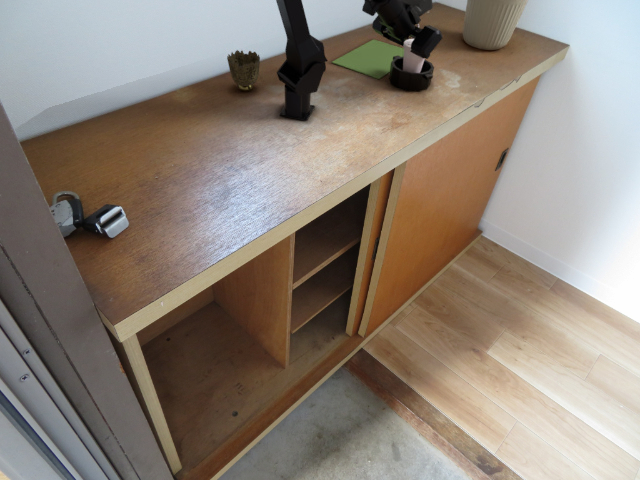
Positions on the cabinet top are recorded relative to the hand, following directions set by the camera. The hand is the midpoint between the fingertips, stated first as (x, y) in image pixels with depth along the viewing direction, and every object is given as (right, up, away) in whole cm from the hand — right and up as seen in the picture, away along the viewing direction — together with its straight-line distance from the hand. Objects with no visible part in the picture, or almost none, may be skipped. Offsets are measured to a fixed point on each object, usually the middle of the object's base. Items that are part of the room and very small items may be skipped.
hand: (419, 52), depth 108 cm
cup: (-42, -10, -2) cm, 44 cm away
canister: (+25, +13, +26) cm, 39 cm away
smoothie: (-2, -6, +5) cm, 8 cm away
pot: (-2, -6, +5) cm, 7 cm away
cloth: (-9, +4, +14) cm, 17 cm away
